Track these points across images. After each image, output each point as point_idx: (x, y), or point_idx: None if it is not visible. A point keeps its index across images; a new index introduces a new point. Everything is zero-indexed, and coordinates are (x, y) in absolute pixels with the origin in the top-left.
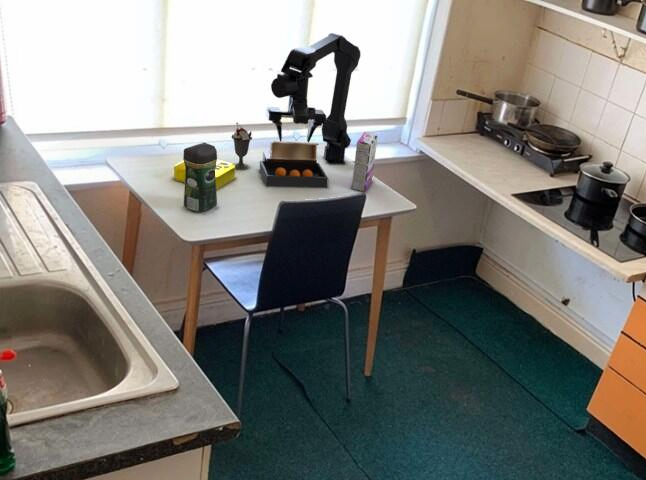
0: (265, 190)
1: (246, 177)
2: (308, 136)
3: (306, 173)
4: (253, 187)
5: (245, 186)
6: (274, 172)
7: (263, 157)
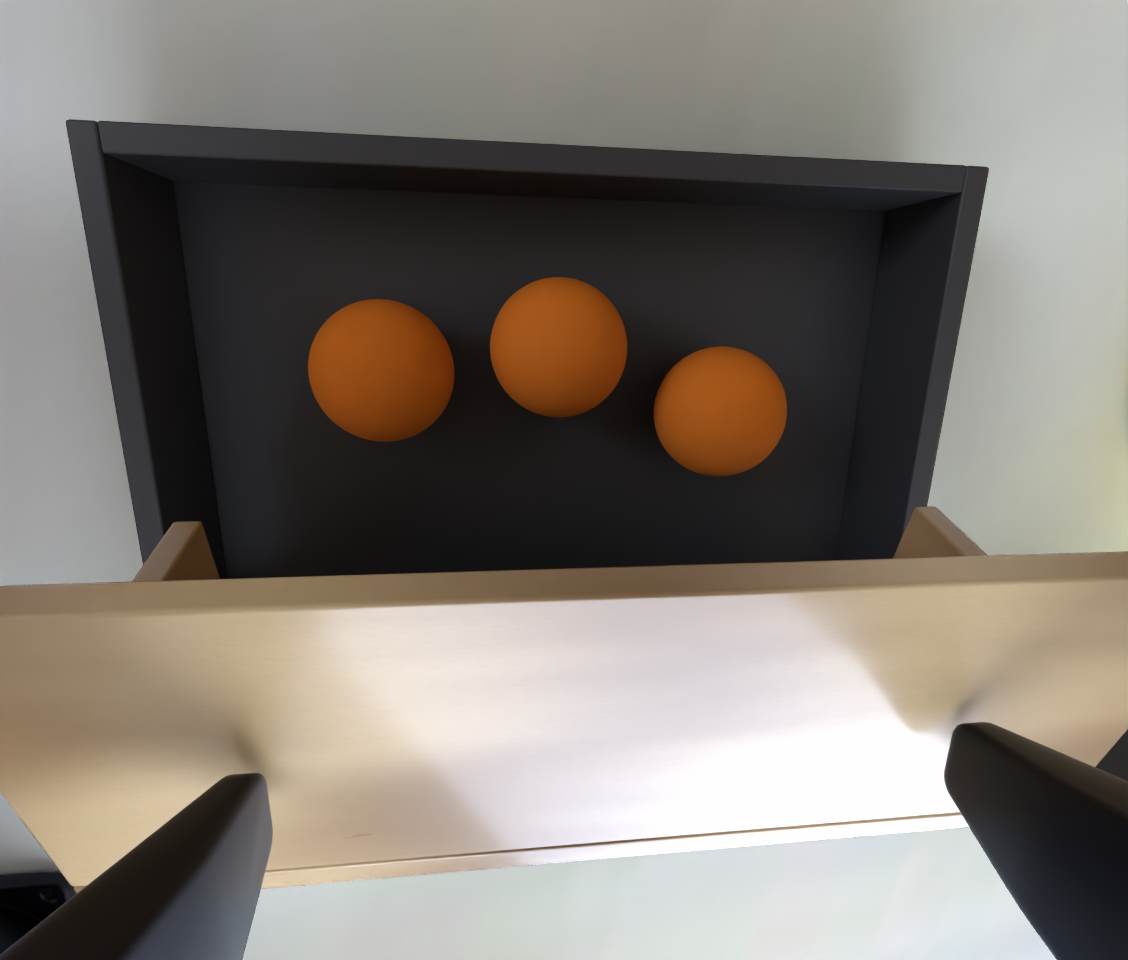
0: (945, 65)
1: (1010, 429)
2: (177, 940)
3: (404, 318)
4: (1040, 157)
5: (1108, 185)
6: (718, 548)
7: None
